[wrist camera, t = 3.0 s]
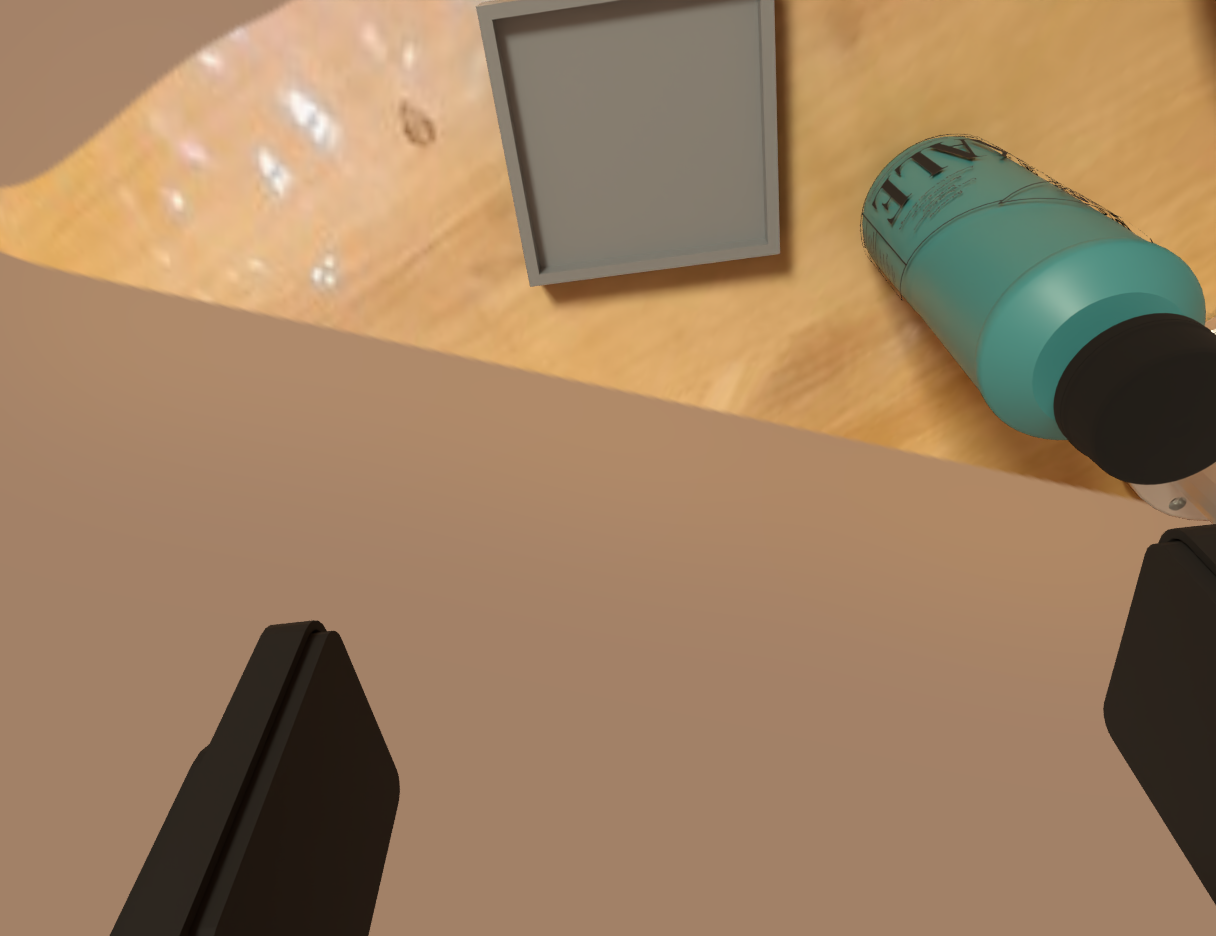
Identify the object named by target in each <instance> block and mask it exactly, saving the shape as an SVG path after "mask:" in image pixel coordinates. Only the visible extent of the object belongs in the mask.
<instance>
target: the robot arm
mask: <svg viewBox="0 0 1216 936" xmlns="http://www.w3.org/2000/svg"><path fill="white" fill-rule="evenodd" d="M1205 327H1207V328H1208V329H1210V330H1211V331H1212V332H1214V333H1215V334H1216V316H1215V317H1213V318H1211V319H1210V320H1208V321H1206V322H1205ZM1127 483H1128V482H1127ZM1128 484H1129V485H1130V486H1131V488H1132V489H1133V490H1134V491H1135V492H1136V493H1137V494H1138V496H1139V497H1140V498H1141V499H1143V500H1144V501H1145V502H1147V503H1148V504H1149V505H1150V506H1152V507H1153V508H1155V509H1157V510H1159V511H1161V512H1163V513H1165V514H1167V515H1170V516H1175V517H1179V518H1184V519H1188V520H1204V521H1210V522H1211V523H1213V525H1203V526H1193V527H1185V528H1175V529H1170V530H1167V531H1166V532H1165V533H1164V534H1163V535H1162V536H1161V538H1160V540H1159V543H1158V544H1152V545H1150V546H1149V547H1148V548H1147V551H1146V553H1145V556H1144V560H1143V564H1142V567H1141V571H1140V574H1139V578H1138V582H1137V585H1136V589H1135V592H1134V596H1133V600H1132V604H1131V607H1130V611H1129V615H1128V618H1127V622H1126V626H1125V629H1124V633H1123V636H1122V640H1121V644H1120V648H1119V651H1118V654H1117V658H1116V662H1115V666H1114V669H1113V673H1112V676H1111V680H1110V684H1109V687H1108V691H1107V694H1106V698H1105V702H1104V708H1103V709H1104V718H1105V723H1106V726H1107V729H1108V731H1109V733H1110V736H1111V737H1112V739H1113V741H1114V743H1115V744H1116V746H1117V747H1118V749H1119V751H1120V752H1121V754H1122V755H1123V757H1124V759H1125V760H1126V762H1127V763H1128V765H1129V767H1130V768H1131V770H1132V771H1133V773H1134V775H1135V776H1136V778H1137V779H1138V781H1139V783H1140V784H1141V786H1142V787H1143V789H1144V791H1145V792H1146V794H1147V795H1148V797H1149V799H1150V800H1151V802H1152V803H1153V805H1154V806H1155V808H1156V810H1157V811H1158V813H1159V815H1160V816H1161V818H1162V819H1163V821H1164V823H1165V824H1166V826H1167V827H1168V829H1169V831H1170V832H1171V834H1172V836H1173V837H1174V839H1175V840H1176V842H1177V843H1178V845H1179V847H1180V848H1181V850H1182V852H1183V853H1184V855H1185V856H1186V858H1187V859H1188V861H1189V863H1190V864H1191V865H1192V867H1193V869H1194V871H1195V872H1196V874H1197V875H1198V877H1199V879H1200V880H1201V882H1202V884H1203V885H1204V887H1205V888H1206V890H1207V892H1208V893H1209V895H1210V896H1211V898H1212V900H1213V901H1214V903H1215V904H1216V462H1215V463H1214V464H1212V465H1211V466H1209V467H1207V468H1206V469H1204V470H1202V471H1200V472H1198V473H1196V474H1194V475H1191V476H1189V477H1187V478H1184V479H1181V480H1178V481H1174V482H1169V483H1164V484H1157V485H1139V484H1132V483H1128ZM399 793H400V786H399V776H398V773H397V769H396V767H395V765H394V762H393V760H392V757H391V755H390V753H389V750H388V748H387V746H386V743H385V741H384V738H383V736H382V734H381V731H380V729H379V727H378V724H377V722H376V720H375V717H374V715H373V712H372V710H371V708H370V705H369V703H368V701H367V698H366V696H365V693H364V691H363V689H362V686H361V684H360V681H359V679H358V677H357V674H356V672H355V670H354V668H353V665H352V663H351V660H350V658H349V656H348V653H347V651H346V648H345V646H344V644H343V641H342V639H341V637H340V635H339V634H338V633H337V632H336V631H326V629H325V627H324V626H323V624H322V623H320V622H319V621H305V622H296V623H287V624H277V625H270V626H269V627H267V628H265V630H264V632H263V633H262V635H261V636H260V639H259V641H258V643H257V645H256V647H255V649H254V652H253V654H252V656H251V658H250V660H249V662H248V664H247V666H246V668H245V670H244V672H243V675H242V677H241V679H240V681H239V683H238V685H237V687H236V690H235V692H234V694H233V696H232V698H231V700H230V702H229V704H228V706H227V708H226V711H225V713H224V715H223V717H222V719H221V721H220V723H219V726H218V728H217V730H216V732H215V734H214V736H213V738H212V740H211V742H210V744H209V745H208V746H207V747H205V748H204V749H203V750H202V751H201V752H200V753H199V754H198V756H197V758H196V759H195V761H194V762H193V764H192V766H191V768H190V770H189V772H188V774H187V776H186V778H185V780H184V782H183V784H182V787H181V789H180V791H179V793H178V795H177V797H176V799H175V801H174V803H173V805H172V807H171V809H170V811H169V813H168V816H167V818H166V820H165V822H164V824H163V826H162V828H161V830H160V832H159V834H158V836H157V838H156V841H155V843H154V845H153V847H152V849H151V851H150V853H149V855H148V857H147V859H146V861H145V863H144V866H143V868H142V870H141V872H140V874H139V876H138V878H137V880H136V882H135V884H134V886H133V888H132V890H131V892H130V894H129V897H128V899H127V901H126V903H125V905H124V907H123V909H122V911H121V913H120V915H119V917H118V919H117V921H116V924H115V926H114V928H113V930H112V932H111V934H110V936H368V935H369V930H370V925H371V921H372V917H373V913H374V908H375V904H376V899H377V895H378V891H379V886H380V882H381V877H382V873H383V869H384V864H385V860H386V855H387V851H388V847H389V842H390V837H391V833H392V829H393V824H394V820H395V815H396V811H397V807H398V801H399Z"/></svg>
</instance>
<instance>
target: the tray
mask: <svg viewBox="0 0 1216 936" xmlns="http://www.w3.org/2000/svg"><path fill="white" fill-rule="evenodd" d="M476 9H477V14H478V19H479V25H480V30H481V35H482V40H483V45H484V50H485V56H486V61H487V66H488V71H489V76H490V82H491V87H492V92H493V97H494V102H495V107H496V113H497V118H498V123H499V128H500V133H501V138H502V144H503V149H504V154H505V159H506V164H507V170H508V175H509V180H510V185H511V190H512V195H513V201H514V206H515V211H516V216H517V221H518V226H519V232H520V237H521V242H522V247H523V252H524V258H525V263H526V268H527V273H528V278H529V283H530V287H533V286H540V285H548V284H555V283H563V282H571V281H578V280H586V279H593V278H601V277H609V276H616V275H624V274H631V273H639V272H647V271H654V270H662V269H669V268H677V267H685V266H692V265H700V264H707V263H715V262H723V261H730V260H738V259H745V258H753V257H761V256H768V255H776V254H780V230H779V186H778V143H777V100H776V56H775V13H774V0H495V1H489V2H483V3H481V4H479V5H478V6H476Z"/></svg>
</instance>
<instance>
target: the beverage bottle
mask: <svg viewBox="0 0 1216 936" xmlns="http://www.w3.org/2000/svg"><path fill="white" fill-rule="evenodd" d="M946 135H949V134H946ZM964 135H967V134H964ZM940 136H943V135H940ZM971 136H972V135H971ZM935 137H937V136H935ZM967 137H968V136H967ZM975 137H976V136H975ZM932 138H934V137H932ZM971 138H974V137H971ZM979 138H980V137H979ZM928 139H930V138H928ZM977 139H978V138H977ZM926 140H927V139H926ZM981 140H983V139H981ZM987 142H989V141H987ZM918 143H919V144H918ZM918 143H916V144H915V145H913V146H911V147H909V148H907V149H906V150H905V151H903V152H902V153H900V154H899V155H898V156H896V157H895V158H894V159H893V160H892V161H891V162H889V164H888V165H887V166H886V167H885V168H884V169H883V170H882V171H881V173H880V174H879V175H878V177H877V178H876V180H875V181H874V183H873V185H872V186H871V188H870V190H869V192H868V195H867V197H866V198H867V199H865V201H866V202H864V204H865V206H863V207H864V212H863V209H862V212H863V213H862V215H863V222H862V226H863V236H864V239H863V241H865V242H864V245H865V244H866V245H865V246H866V247H867V250H868V253H869V254H870V255H871V257H872V259H873V260H874V261H875V263H876V264H877V265H878V266H879V269H881V270H882V271H883V273H884V274H885V275H886V276H887V277H888V279H889V280H890V281H891V282H892V283H893V285H894V286H895V287H896V288H897V289H898V291H899V292H900V294H902V296H903V297H904V298H905V299H906V300H907V302H908V303H909V304H910V305H911V306H912V308H913V309H914V310H915V311H916V312H917V313H918V314H919V315H920V316H921V317H922V318H923V320H924V321H925V322H926V324H927V325H928V326H929V327H930V329H931V330H932V331H933V332H934V334H935V335H936V336H937V337H938V339H939V340H940V341H941V343H942V344H943V345H944V346H945V348H946V349H947V350H948V351H949V353H950V354H951V355H952V357H953V358H954V359H955V360H956V362H957V363H958V364H959V365H960V367H961V368H962V369H963V370H964V372H965V373H966V374H967V376H968V377H969V378H970V379H971V381H972V382H973V383H974V384H975V386H976V387H977V388H978V389H979V391H980V392H981V394H982V396H983V398H984V400H985V402H986V403H987V404H988V406H989V407H990V408H991V410H992V411H993V412H994V413H995V414H996V415H997V416H998V417H999V418H1000V419H1001V420H1002V421H1003V422H1004V423H1006V424H1007V425H1009V426H1010V427H1012V428H1014V429H1015V430H1017V431H1019V432H1022V433H1025V434H1028V435H1030V436H1034V437H1038V438H1043V439H1051V440H1068V441H1069V442H1070V443H1071V444H1072V445H1073V446H1074V447H1075V448H1076V449H1077V450H1079V451H1080V452H1081V453H1083V454H1084V455H1086V456H1088V457H1089V458H1090V459H1091V460H1092V461H1093V462H1095V463H1096V464H1097V465H1098V466H1099V467H1100V468H1101V469H1102V470H1104V471H1105V472H1106V473H1108V474H1109V475H1111V476H1113V477H1115V478H1117V479H1119V480H1122V481H1125V482H1128V483H1132V484H1139V485H1157V484H1164V483H1169V482H1174V481H1178V480H1181V479H1184V478H1187V477H1189V476H1191V475H1194V474H1196V473H1198V472H1200V471H1202V470H1204V469H1206V468H1207V467H1209V466H1211V465H1212V464H1214V463H1215V462H1216V334H1215V333H1214V332H1212V331H1211V330H1210V329H1208V328H1207V327H1205V316H1206V309H1205V299H1204V295H1203V291H1202V288H1201V286H1200V284H1199V282H1198V280H1197V278H1196V276H1195V274H1194V273H1193V272H1192V270H1191V269H1190V267H1189V266H1188V265H1187V264H1186V263H1185V262H1184V261H1183V260H1182V259H1181V258H1180V257H1178V256H1177V255H1175V254H1174V253H1172V252H1171V251H1169V250H1167V249H1166V248H1163V247H1161V246H1159V245H1157V244H1155V243H1153V242H1152V240H1151V242H1152V243H1151V242H1148V241H1146V240H1144V239H1142V238H1141V237H1139V236H1137V235H1135V234H1134V233H1133V232H1131V230H1130V229H1129V228H1128V227H1127V226H1126V225H1125V224H1124V222H1123V221H1122V222H1123V223H1122V222H1120V221H1121V220H1120V219H1119V220H1120V221H1119V220H1117V219H1118V218H1119V216H1117V215H1115V214H1113V213H1112V212H1110V211H1109V210H1108V212H1110V214H1111V215H1113V216H1114V217H1115V216H1116V218H1117V217H1118V218H1117V219H1115V220H1116V221H1117V222H1116V221H1114V220H1113V218H1112V217H1111V218H1112V219H1111V218H1109V217H1107V216H1105V215H1107V214H1106V213H1105V212H1106V210H1105V212H1104V211H1103V210H1104V209H1103V210H1102V211H1103V212H1104V213H1105V214H1104V213H1103V212H1102V213H1103V214H1102V213H1100V212H1101V211H1100V210H1101V209H1102V208H1099V209H1100V210H1099V209H1098V210H1099V211H1100V212H1099V211H1097V210H1095V209H1093V208H1092V207H1090V206H1088V205H1090V204H1086V203H1083V202H1082V201H1081V200H1083V201H1085V202H1088V201H1086V200H1085V199H1087V200H1088V198H1085V199H1084V198H1082V197H1084V196H1082V197H1080V195H1079V197H1080V198H1079V197H1077V196H1076V195H1077V194H1078V193H1077V192H1076V191H1072V190H1071V189H1070V188H1069V189H1070V192H1072V194H1073V192H1076V195H1075V194H1074V195H1073V196H1075V197H1077V198H1078V199H1079V200H1078V199H1076V198H1075V197H1073V196H1071V195H1072V194H1069V193H1070V192H1069V193H1068V192H1067V190H1068V189H1067V187H1066V188H1064V189H1065V190H1066V189H1067V190H1066V192H1067V193H1066V192H1065V191H1064V190H1063V188H1062V187H1063V186H1062V187H1061V186H1060V185H1058V186H1059V187H1058V186H1056V185H1053V183H1052V182H1051V181H1046V180H1044V179H1042V178H1041V177H1039V176H1038V175H1037V173H1036V172H1035V173H1036V174H1035V173H1032V171H1033V170H1032V169H1034V168H1031V166H1030V167H1029V168H1030V169H1031V170H1032V171H1031V170H1029V168H1028V165H1029V164H1028V165H1026V164H1025V165H1026V168H1027V169H1028V170H1027V169H1025V168H1024V167H1022V166H1023V165H1024V163H1023V164H1022V163H1020V164H1021V165H1022V166H1020V165H1019V164H1017V163H1015V162H1014V161H1012V160H1010V159H1008V158H1007V156H1006V154H1007V153H1008V152H1006V151H1004V150H1003V149H1002V150H1000V149H1001V148H1000V149H999V147H998V148H996V147H997V146H996V147H994V146H991V145H989V144H986V143H984V142H982V141H980V140H975V139H969V138H965V136H964V137H963V136H962V137H960V136H958V137H955V136H953V137H940V138H934V139H931V140H927V141H925V140H923V142H922V141H921V143H920V142H918ZM990 144H991V143H990ZM986 145H987V146H986ZM988 146H989V147H988ZM990 147H992V148H994V149H997V150H999V151H1001V152H1002V153H1003V154H1000V153H998V152H996V151H995V150H993V149H991V148H990ZM1009 154H1010V153H1009ZM1010 155H1011V154H1010ZM1012 156H1013V155H1012ZM1014 157H1015V156H1014ZM1009 158H1011V157H1009ZM1017 159H1018V158H1017ZM1019 160H1020V159H1019ZM1019 160H1018V161H1019ZM1021 161H1022V160H1021ZM1022 162H1023V161H1022ZM1038 171H1039V170H1038ZM1042 173H1043V172H1042ZM1046 176H1047V175H1046ZM1049 178H1050V179H1051V180H1052V181H1053V179H1052V178H1051V177H1049ZM1054 181H1056V180H1054ZM1054 181H1053V182H1054ZM1049 182H1051V183H1052V184H1051V183H1049ZM1054 183H1055V184H1056V183H1057V184H1058V182H1057V181H1056V182H1054ZM1060 184H1061V183H1060ZM1059 188H1062V189H1059ZM1081 198H1082V199H1081ZM1080 199H1081V200H1080ZM1089 201H1090V200H1089ZM1091 202H1092V204H1093V201H1091ZM1088 203H1089V202H1088ZM1094 204H1095V202H1094ZM1096 205H1098V204H1096ZM1091 206H1092V205H1091ZM1099 206H1100V205H1099ZM1099 206H1098V207H1099ZM1094 207H1095V206H1094ZM1098 207H1097V208H1098ZM1101 207H1102V206H1101ZM1110 214H1109V215H1110ZM862 215H861V217H862ZM1120 218H1121V217H1120ZM1118 222H1120V223H1121V224H1122V225H1123V224H1124V225H1125V226H1126V227H1127V228H1128V229H1127V228H1126V227H1125V226H1124V225H1123V226H1122V225H1121V224H1119V223H1118ZM1130 224H1131V223H1130ZM860 230H861V224H860ZM1140 231H1141V230H1140ZM1146 236H1147V235H1146ZM861 240H862V238H861ZM862 245H863V243H862ZM866 247H865V248H866ZM863 248H864V247H863ZM864 251H865V250H864ZM870 255H869V256H870ZM867 257H868V256H867ZM870 259H871V258H870ZM871 262H872V261H871ZM878 266H877V267H878ZM875 267H876V266H875ZM878 271H879V270H878ZM879 272H881V271H879ZM882 276H883V275H882ZM883 277H884V276H883ZM886 281H887V280H886ZM890 286H891V285H890ZM893 290H894V289H893ZM894 291H895V290H894ZM897 295H898V294H897ZM898 296H899V295H898ZM902 296H901V298H902ZM901 300H902V299H901ZM902 301H903V300H902Z"/></svg>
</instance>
